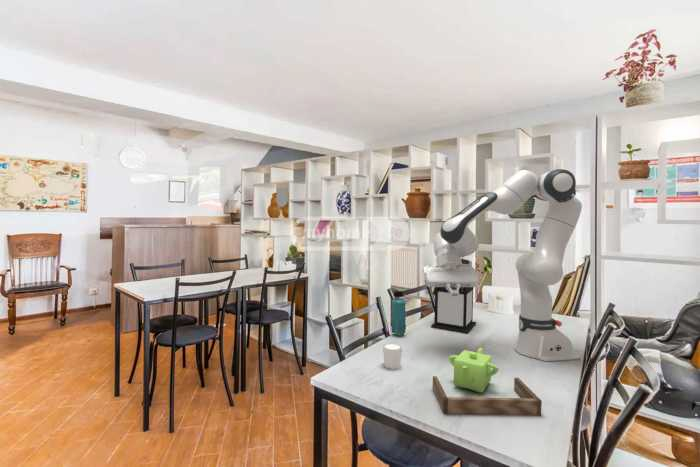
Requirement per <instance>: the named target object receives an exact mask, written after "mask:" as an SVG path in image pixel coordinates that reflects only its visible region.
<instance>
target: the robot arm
mask: <svg viewBox="0 0 700 467" xmlns="http://www.w3.org/2000/svg"><path fill="white" fill-rule="evenodd" d="M576 187H577V181H576V178H575V175H574V174H573V173H572V172H571V171H570V170H567V169H563V168H558V169H554V170H550V171H549V170H548V171H547V172H545V173H543V174H541V175H537V174H536V173H534V172H533V171H530V170H528V169H520V170H519V171H517V172H516V173H514V174H513V175H512V176H510V177H509V178H508V179H506V181H504V182H503V183H502V184H501V185H500V186H499V187H498V188H497V189H495V190H493V191H488V192H485V193H484V194H482V195H480V196H478V197H477V198H476V199H475V200H473V201H472V202H471V203H469V204H468V205H467V206H466V207H464V208H463V209H462V210H460V211H459V212H458V213H456V214H455V215H453V216H451V217H449V218H448V219H446V220H445V221H444V222H443V223H442V225H441V226H440V227H441V228H440V232H438V233H437V234H435V236H434V239H433V251H434V255H435V257H436V259H435V260H436V265H426V266H424V267H423V270H422V271H423V274H424V275H425V277H424V278H425V280H424V281H425V286H426V287H427V288H436V287H446V289H447V290H448V291H449V292H450V296H459V288H460V287H473V288H476V287H477V286H478V285H479V283H480V278H479V275H478V272H477V270H476V269H475V268H474V267H473V261H472V260H469V259H466V258H465V257H466V256H469V255H472V254H474V253H475V252H476V251H477V250H478V248H479V245H480V240H479V238H478V237H477V236H476V235H475V234H474V232H473V231H472V230H471V228H469V225H470V224H471V223H472V222H474V221H475V220H476V219H477V218H479V217H480V216H481V215H482V214H484V213H486V212H489V211H490V212H495V213H496V214H499V215H500V214H501V215H511V214H514V213H515V212H516V211H517V210H519V209H520V208H521V207H522V206H523V205H525V203H526V202H527V201H528V200H529V199H530V198H531V197H533V198H535V199H537V200H540V201H543V202H544V201H545V202H546V201H548V210H547V212H546V214H545V216H544V218H543V220H542V222H541V224H540V226H539V228H538V231H537V233H536V235H535V247H534V250H533V252H528V253H524V254H521V255H519V256H518V257H517V259H516V261H515V268H516V269H515V270H516V273H517V277H518V285H519V291H520V313H519V316H518V329H519V330H518V334H517V335H518V336H517V339H516V340H517V341H516V344H515V347H514V350H515V351H516V352H517V353H518V354H521V355H523V356H526V357H528V358H529V357H530V358H533V359H534V358H535V359H538V360H540V361H544V362H557V361H558V362H559V361H569V360H570V361H572V360H580V354H579V352H577V351H575V350H574V349H573V343H572V341H571V339H570V338H569V337H568V336H567V335H565V334H564V333H563V332H562V331H561V330H559V329H558V328H557V327H559V328H560V327H561V326H562V321H560V320H556V319H554V318H553V297H552V295H551V292H550V288H549V286H553V285H554V286H555V285H556V284H557V283H559V282H560V281H561V280H562V278H563V276H564V270H563V263H564V262H563V260H564V256H565V252H566V249H567V246H568V244H569V241H570V239H571V237H572V235H573V234H574V230H575V229H576V226H577V224H578V222H579V219H580V215H581V213H582V209H583V204H582V202H581V201H580V200H579V199H578V197H575V196H576V194H577V192H576V191H577V190H576ZM460 257H461V258H460ZM462 258H463V259H462ZM450 287H455V288H456V289H457V290H452V289H451V288H450Z"/></svg>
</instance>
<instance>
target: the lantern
mask: <svg viewBox="0 0 700 467" xmlns="http://www.w3.org/2000/svg"><path fill="white" fill-rule="evenodd" d="M460 258H462V259H464V257H460ZM450 288H451V289H452V290H457V289H456V288H455V287H450ZM473 306H474V287H460V288H459V296H450V292H449V291H448V290H447V289H446V287H435V290H434V318H433V319H434V320H433V322H434V323H432V324H431V326H430V328H431V329H437V330H443V331H448V332H455V333H459V334H465V335H468V334H469V333H470V332H471V331H472V330H473V328H475V326H476V324H477V322H476V321H474V320H473V319H474V318H473V313H474V310H473V309H474V307H473Z"/></svg>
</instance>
